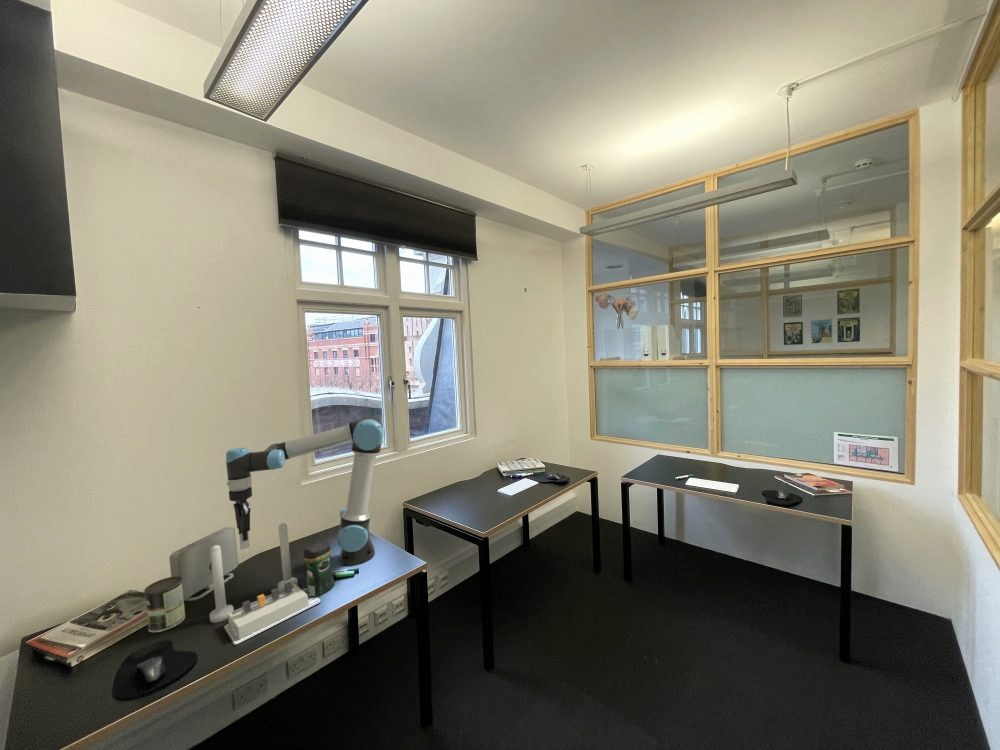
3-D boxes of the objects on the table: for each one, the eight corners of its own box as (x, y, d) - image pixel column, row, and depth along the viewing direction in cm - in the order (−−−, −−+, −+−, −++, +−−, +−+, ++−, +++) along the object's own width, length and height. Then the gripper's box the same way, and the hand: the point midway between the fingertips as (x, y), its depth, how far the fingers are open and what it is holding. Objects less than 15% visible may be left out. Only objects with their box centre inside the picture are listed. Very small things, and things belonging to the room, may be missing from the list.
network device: (187, 606, 151) (181, 555, 150) (168, 605, 153) (163, 554, 152) (243, 570, 176) (238, 526, 175) (226, 569, 178) (222, 525, 177)
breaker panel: (295, 594, 155) (294, 583, 155) (308, 605, 147) (307, 594, 146) (229, 624, 138) (227, 612, 138) (239, 639, 130) (238, 626, 130)
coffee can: (146, 637, 135) (142, 596, 134) (149, 622, 143) (145, 584, 142) (185, 623, 141) (181, 584, 140) (186, 610, 149) (182, 573, 148)
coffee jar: (325, 581, 163) (322, 536, 162) (337, 586, 158) (334, 540, 157) (303, 594, 154) (299, 547, 154) (315, 599, 150) (310, 551, 149)
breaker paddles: (292, 590, 149) (292, 581, 149) (295, 592, 148) (294, 582, 148) (240, 613, 137) (239, 603, 137) (242, 616, 135) (241, 606, 135)
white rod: (299, 580, 165) (293, 518, 164) (296, 589, 158) (291, 524, 157) (279, 585, 162) (274, 522, 161) (276, 594, 156) (270, 528, 155)
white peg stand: (236, 608, 148) (229, 539, 147) (230, 619, 142) (223, 547, 140) (213, 613, 146) (206, 543, 145) (207, 625, 139) (199, 551, 138)
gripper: (224, 488, 157) (229, 546, 158) (233, 494, 148) (238, 556, 149) (246, 482, 163) (250, 539, 164) (256, 488, 154) (261, 548, 155)
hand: (245, 547), depth 156 cm, fingers closed
